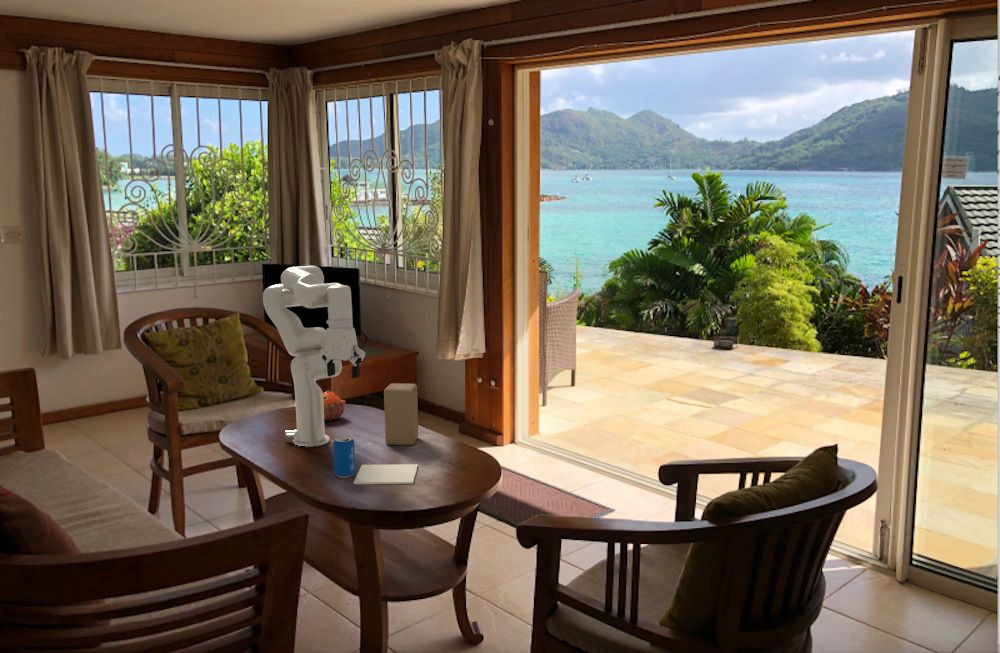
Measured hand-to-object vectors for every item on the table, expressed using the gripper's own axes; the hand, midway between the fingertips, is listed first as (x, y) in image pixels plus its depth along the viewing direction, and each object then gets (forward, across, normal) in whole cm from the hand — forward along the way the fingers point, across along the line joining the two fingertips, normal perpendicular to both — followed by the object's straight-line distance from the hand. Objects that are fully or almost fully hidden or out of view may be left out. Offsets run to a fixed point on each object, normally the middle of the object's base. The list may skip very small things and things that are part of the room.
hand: (343, 376), depth 269 cm
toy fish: (+27, -36, +37) cm, 59 cm away
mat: (+29, +18, -5) cm, 35 cm away
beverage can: (+29, +7, -11) cm, 32 cm away
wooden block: (+28, +4, +26) cm, 39 cm away
